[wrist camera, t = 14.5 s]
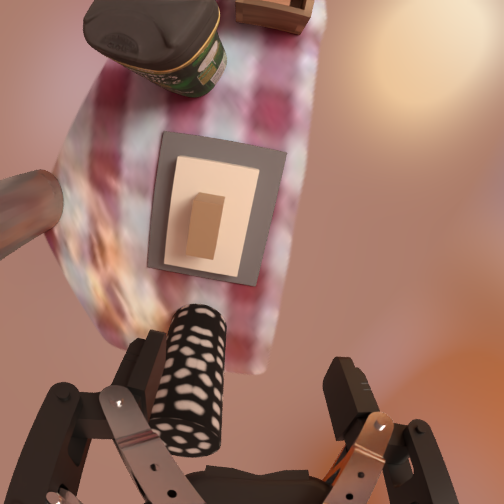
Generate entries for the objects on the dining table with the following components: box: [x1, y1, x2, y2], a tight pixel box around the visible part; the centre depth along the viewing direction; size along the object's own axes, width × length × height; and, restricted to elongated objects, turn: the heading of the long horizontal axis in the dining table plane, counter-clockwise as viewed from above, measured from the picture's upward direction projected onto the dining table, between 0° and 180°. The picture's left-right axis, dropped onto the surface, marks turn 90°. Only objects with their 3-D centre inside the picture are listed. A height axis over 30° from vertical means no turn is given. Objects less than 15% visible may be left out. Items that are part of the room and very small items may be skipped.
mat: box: [148, 131, 287, 286], centre depth 35 cm, size 18×15×1 cm
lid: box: [164, 156, 259, 277], centre depth 32 cm, size 13×9×6 cm
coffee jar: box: [83, 0, 227, 97], centre depth 20 cm, size 10×8×19 cm
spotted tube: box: [148, 304, 227, 457], centre depth 33 cm, size 8×8×20 cm
